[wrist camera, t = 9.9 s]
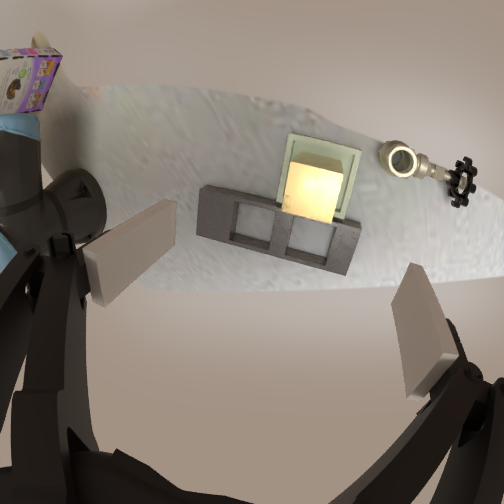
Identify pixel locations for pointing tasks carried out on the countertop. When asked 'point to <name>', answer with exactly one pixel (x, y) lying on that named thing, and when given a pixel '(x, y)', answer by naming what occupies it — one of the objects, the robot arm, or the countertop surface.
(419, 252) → the countertop surface
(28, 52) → the candy box
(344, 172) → the tray
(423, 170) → the valve
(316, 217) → the wooden block
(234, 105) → the countertop surface
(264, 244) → the grey slotted holder
